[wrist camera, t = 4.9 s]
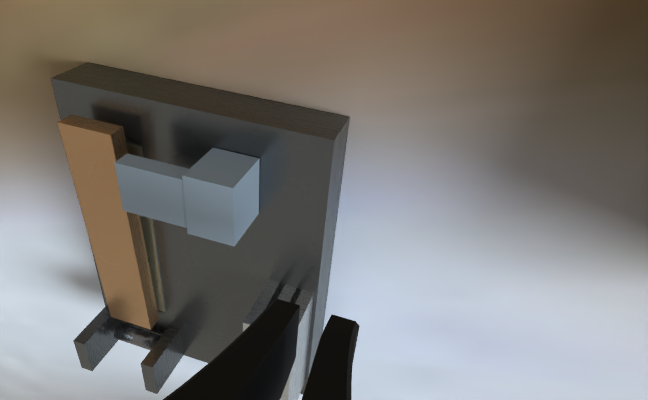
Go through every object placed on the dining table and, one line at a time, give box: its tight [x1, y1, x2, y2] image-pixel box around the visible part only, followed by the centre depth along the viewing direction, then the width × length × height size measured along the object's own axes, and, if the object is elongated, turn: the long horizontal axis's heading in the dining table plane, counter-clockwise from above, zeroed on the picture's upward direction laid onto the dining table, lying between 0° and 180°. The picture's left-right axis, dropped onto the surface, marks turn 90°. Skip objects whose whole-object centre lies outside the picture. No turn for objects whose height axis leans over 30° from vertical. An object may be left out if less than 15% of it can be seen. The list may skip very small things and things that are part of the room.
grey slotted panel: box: [51, 63, 350, 400], centre depth 21 cm, size 14×11×4 cm
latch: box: [115, 148, 260, 246], centre depth 17 cm, size 2×4×2 cm, turn 85°
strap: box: [57, 114, 161, 350], centre depth 21 cm, size 12×2×1 cm, turn 175°
